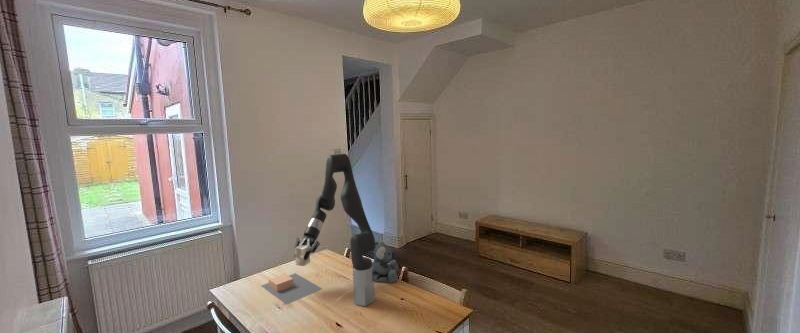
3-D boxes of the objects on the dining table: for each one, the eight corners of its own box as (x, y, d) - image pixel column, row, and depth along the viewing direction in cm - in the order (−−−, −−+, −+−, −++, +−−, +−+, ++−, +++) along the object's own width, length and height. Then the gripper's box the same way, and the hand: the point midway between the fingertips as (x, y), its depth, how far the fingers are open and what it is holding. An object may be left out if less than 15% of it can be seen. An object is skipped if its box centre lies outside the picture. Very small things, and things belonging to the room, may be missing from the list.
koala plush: (397, 283, 169) (397, 248, 167) (364, 284, 169) (363, 248, 167) (398, 270, 186) (398, 237, 184) (368, 270, 187) (367, 238, 185)
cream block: (310, 262, 165) (309, 245, 164) (303, 266, 160) (303, 249, 159) (302, 261, 167) (301, 244, 166) (295, 264, 162) (295, 248, 161)
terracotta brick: (293, 285, 167) (293, 278, 167) (277, 292, 160) (276, 284, 160) (285, 280, 173) (284, 273, 173) (269, 286, 167) (268, 279, 166)
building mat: (322, 289, 163) (322, 288, 163) (286, 305, 149) (286, 304, 149) (295, 274, 182) (295, 273, 182) (260, 286, 168) (260, 285, 168)
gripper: (299, 224, 171) (285, 253, 161) (321, 226, 166) (308, 257, 156) (306, 230, 176) (292, 259, 167) (328, 233, 171) (315, 263, 161)
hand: (300, 258), depth 161 cm, fingers closed on cream block, 5 cm apart
